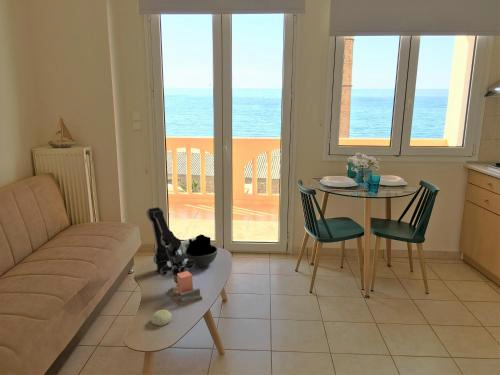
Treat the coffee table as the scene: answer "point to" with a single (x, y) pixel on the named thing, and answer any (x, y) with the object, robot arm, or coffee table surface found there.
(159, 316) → the sea urchin shell
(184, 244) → the digital clock
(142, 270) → the coffee table surface
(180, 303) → the base
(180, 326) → the coffee table surface
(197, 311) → the coffee table surface
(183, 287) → the salmon pink rectangular block
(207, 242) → the bowl of black rocks
